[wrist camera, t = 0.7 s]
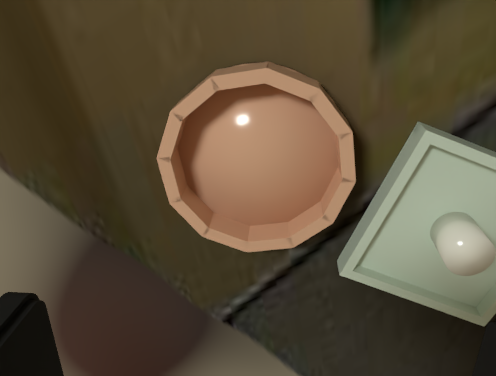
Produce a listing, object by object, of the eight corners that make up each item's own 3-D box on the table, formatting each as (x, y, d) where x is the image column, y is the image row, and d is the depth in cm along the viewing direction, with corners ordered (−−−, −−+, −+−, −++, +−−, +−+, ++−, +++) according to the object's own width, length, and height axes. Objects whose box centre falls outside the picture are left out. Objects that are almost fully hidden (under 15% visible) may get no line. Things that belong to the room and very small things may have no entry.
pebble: (445, 205, 42) (461, 229, 38) (485, 220, 42) (505, 245, 38) (421, 240, 44) (435, 266, 40) (459, 254, 44) (477, 282, 40)
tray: (418, 121, 39) (426, 130, 37) (578, 185, 41) (595, 197, 38) (336, 260, 47) (339, 274, 44) (475, 310, 48) (484, 326, 46)
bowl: (200, 32, 37) (191, 37, 34) (381, 104, 39) (391, 117, 35) (151, 195, 45) (140, 214, 41) (304, 250, 46) (305, 273, 43)
